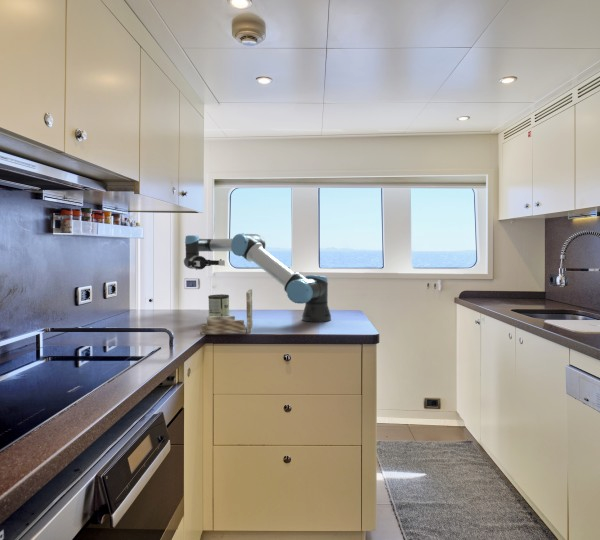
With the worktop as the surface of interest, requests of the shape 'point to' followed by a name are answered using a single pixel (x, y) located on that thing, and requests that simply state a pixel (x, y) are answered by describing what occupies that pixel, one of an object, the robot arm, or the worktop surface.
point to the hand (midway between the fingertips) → (211, 263)
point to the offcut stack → (223, 323)
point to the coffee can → (218, 305)
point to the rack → (249, 318)
